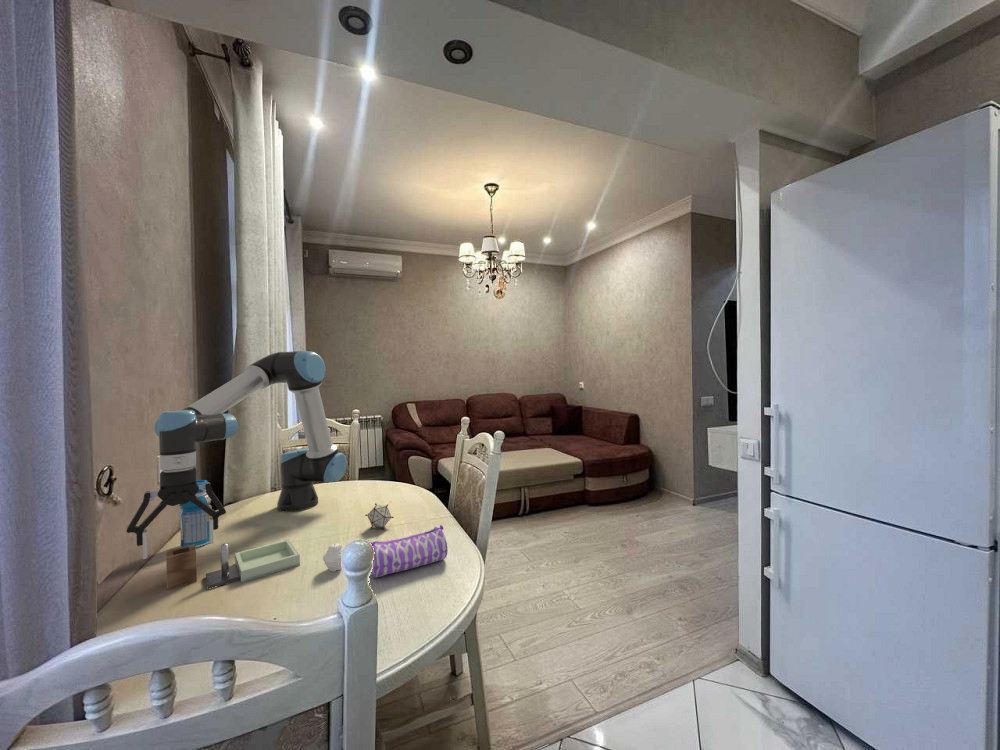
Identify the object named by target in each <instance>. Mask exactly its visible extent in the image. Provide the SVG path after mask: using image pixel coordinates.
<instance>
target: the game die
mask: <svg viewBox="0 0 1000 750" xmlns="http://www.w3.org/2000/svg"><path fill="white" fill-rule="evenodd" d="M388 506H389V503H388V504H386V505H380V504H378V503H377V502H375V504H374V506H373V508H372V509H371V510H370V511H369V512H368V514H364V516H365V517H366V516H367V518H368V520H369V523H370V525H371V526H370V529H373V528H374V527H375V528H381V529H382V530H383V531H384V529H385V526H386V525H387V524H388V523H389V522H390V520H391V519H394V518H395V517H394V516H392V514H391V513H390V510H389V508H388Z"/></svg>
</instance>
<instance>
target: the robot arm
mask: <svg viewBox="0 0 1000 750" xmlns="http://www.w3.org/2000/svg"><path fill="white" fill-rule="evenodd" d="M326 369H327V368H326V365H325V361H324V360H323V358H322V357H321V355H320V354H317V352H314V351H310V350H309V351H307V350H293V351H278V352H274V353H272V354H269V355H266V356H265V357H262V358H260V359H258V360H256V361H255V362H253V363H252V364H250V365H248V366H246V367H245V369H244V372H242V373H240V374H239V375H237V376H236V377H234V378H233V379H231V380H229V381H228V382H226V383H224V384H222V385H221V386H219V387H218V388H216V389H214V390H212V391H210V393H207V394H206V395H204V396H202V398H200V399H198V400H196V401H194V402H193V403H192V404H190V405H188V406H186V407H185V408H183V409H182V410H168V411H164V412H161V413H160V414H159V417H158V418H157V420H156V421H155V422H154V425H153V426H154V427H153V428H154V432H155V434H156V436H157V437H158V440H159V442H158V443H159V454H158V456H159V470H160V473H159V489H158V491H150V490H146V491H145V492H144V495H143V498H142V499H143V500H142V502H141V504H140V505H139V507H138V510H137V511H136V512H135V513H134V516H132V517H133V518H132V519H131V521H130V522H129V524H128V526H127V529H126V533H127V534H130V533H133V534H136V535H135V536H136V546H137V547H141V546H142V559H143V560H145V559H148V557H149V556H148V555H149V554H148V550H149V549H148V529H147V527H148V526H150V524H151V523H152V522H153V521H154V520H155V519H156V518H157V517H158V516H159V514H160V513H161V512H162V511H163V510H164V509H166V507H168V506H171V507H175V506H178V505H180V504H187V503H188V502H189V501H191V502H192V503H194V504H195V505H197V506H198V507H199V508H201V509H202V510H203V511H205V512H206V513H207V514H209V515H210V516H211V517H209V541H210V542H209V544H210V545H212V544H214V531H216V530H218V529H219V518H220V517H221V516H223V515H225V514H226V513H227V511H226V508H225V507H224V505H223V504H222V502H221V501H220V500H219V499H218V497H217V495H216V494H215V493H214V491H213V490H212V485H211V482H209V481H207V482H206V483H205V484H202V485H197V482H196V480H197V468H196V465H197V444H201V443H207V442H212V441H220V440H221V441H222V440H225V439H229V438H232V437H234V436H235V435H236V433H237V431H238V429H239V427H238V424H239V423H238V420H237V419H236V416H234V415H233V414H231V413H227V411H228V410H230V409H232V408H234V406H236V405H237V404H238V403H240V402H242V401H243V400H244V399H247V397H249V396H251V395H252V394H253V393H256V392H257V391H258V390H262V389H263V390H264V389H266V388H267V387H269V386H271V385H275V384H281V383H282V384H283V383H285V384H287V389H288V391H289V392H291V393H293V394H294V397H295V400H296V404H297V408H298V409H297V410H298V412H299V416H300V421H301V425H302V428H303V432H304V436H305V440H306V443H307V447H306V448H299V449H294V450H289V451H286V452H285V451H284V453H282V454H281V457H280V479H281V481H280V482H281V483H280V484H281V490H280V494H279V497H278V499H277V503H276V507H277V508H276V509H277V510H278V511H279V512H285V513H286V512H287V513H288V512H290V513H291V512H299V511H304V510H307V509H312V508H314V507H315V506H317V505H318V504H319V496H318V493H317V492H316V489H315V486H314V482H315V483H325V484H328V483H337V482H338V481H340V480H341V479H342V478H343V477H344V475H345V473H346V470H347V466H348V460H347V456H346V454H344V453H342V452H339V449H338V445H336V444H335V443H333V442H332V438H331V433H330V428H329V426H328V421H327V417H326V413H325V408H324V404H323V401H322V400H323V399H322V397H321V391H320V387H321V385H322V384H323V381H322V380H323V379H324V378H325V376H326V374H325V373H326V371H327V370H326ZM225 412H226V413H225ZM199 489H201V490H202V491H203V492H206V493H207V495H208V496H209V497H210V499H211V503H213V505H214V506H215V507H216V509H217V511H216V510H214V509H213V508H211V507H212V506H211V507H209V506H208V505H207V504H205V503H204V502H203V501H201V500H200V499H199V498H198V497H197V496H195V494H196V493H197V492H198V490H199ZM156 497H158V498H159V499H160V500H161V501H160V502H159V503H158V505H157V506H156V507H155V508H154V509H153V510H152V511H151V513H149V515H148V516H147V517H145V519H144V520H143V521H142V522H141V523H140V524H139V525H137V524H138V523H139V521H140V519H141V518H142V516H143V514H144V512H146V509H147V507H148V506H149V504H150V501H151V502H152V501H153V500H154V499H155V498H156Z"/></svg>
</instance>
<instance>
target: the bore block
mask: <svg viewBox="0 0 1000 750" xmlns="http://www.w3.org/2000/svg"><path fill="white" fill-rule="evenodd" d="M196 549H197V548H195V544H193V545H189V546H184V547H181V546H179V547H177V548H172V549H168V550H166V554H165V555H166V558H165V562H166V566H165V567H166V588H167V589H166V590H171V589H175V588H178V587H181V586H182V587H183V586H187V585H189V584H193V583H196V582H197V580H198V579H197V578H198V577H197V551H196Z"/></svg>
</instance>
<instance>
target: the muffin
mask: <svg viewBox="0 0 1000 750" xmlns="http://www.w3.org/2000/svg"><path fill="white" fill-rule="evenodd" d="M343 549H344V548H343V547H342V544H341V543H333V544H331V545H329V546H328V547H327V551H326V552H325V553H324V555H323V556H322V560H323V562H324V565H325V566H326V567H327V569H328V571H329V572H337V571H336V570H338V571H340V570H341V569H342V568H341V552H342V550H343Z"/></svg>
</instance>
